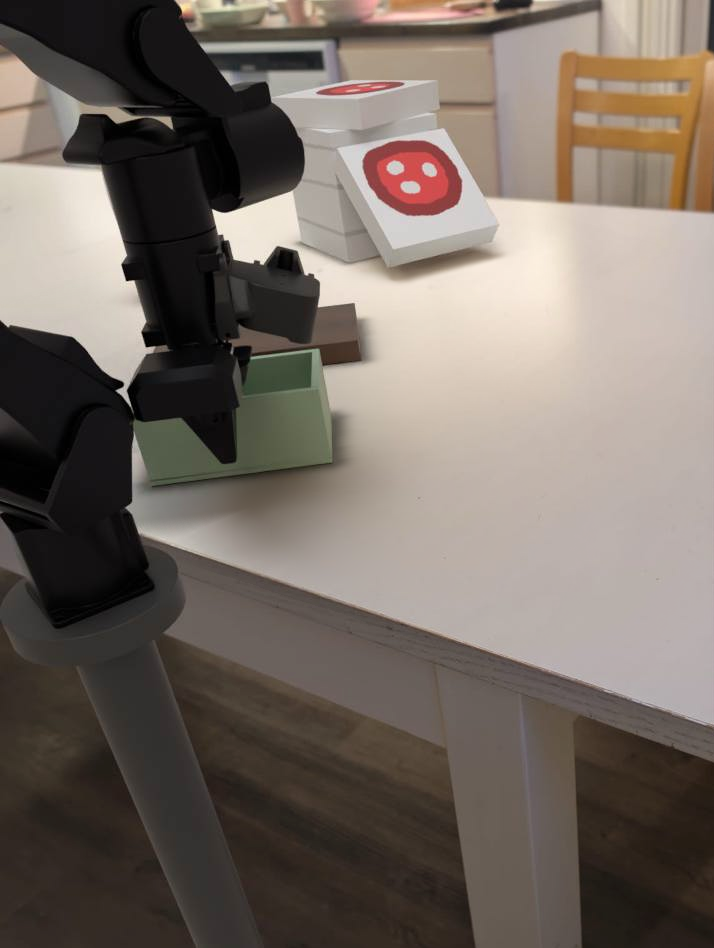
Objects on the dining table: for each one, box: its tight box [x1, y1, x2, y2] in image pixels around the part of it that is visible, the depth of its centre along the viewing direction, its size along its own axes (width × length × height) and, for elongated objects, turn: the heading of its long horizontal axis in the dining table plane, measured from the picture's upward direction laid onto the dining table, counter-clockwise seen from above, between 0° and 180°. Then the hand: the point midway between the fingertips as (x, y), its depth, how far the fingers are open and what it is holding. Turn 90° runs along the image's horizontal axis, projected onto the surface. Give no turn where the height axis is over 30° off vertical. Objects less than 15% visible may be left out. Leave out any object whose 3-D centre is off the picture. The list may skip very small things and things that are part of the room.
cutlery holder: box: [130, 349, 334, 487], centre depth 74 cm, size 9×14×6 cm, turn 98°
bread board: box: [152, 302, 362, 366], centre depth 94 cm, size 12×20×2 cm, turn 98°
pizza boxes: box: [271, 79, 500, 269], centre depth 119 cm, size 19×30×18 cm, turn 33°
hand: (229, 461), depth 67 cm, fingers closed
